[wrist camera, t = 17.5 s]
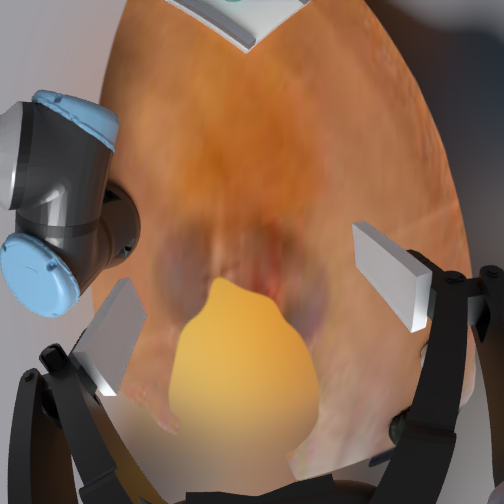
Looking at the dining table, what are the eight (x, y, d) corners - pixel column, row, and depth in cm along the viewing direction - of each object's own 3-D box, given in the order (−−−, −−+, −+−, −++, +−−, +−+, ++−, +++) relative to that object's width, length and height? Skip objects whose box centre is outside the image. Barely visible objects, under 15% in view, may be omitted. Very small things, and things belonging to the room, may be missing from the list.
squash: (436, 418, 71) (438, 439, 58) (403, 441, 75) (400, 463, 62) (416, 394, 76) (416, 413, 63) (383, 418, 81) (378, 439, 68)
